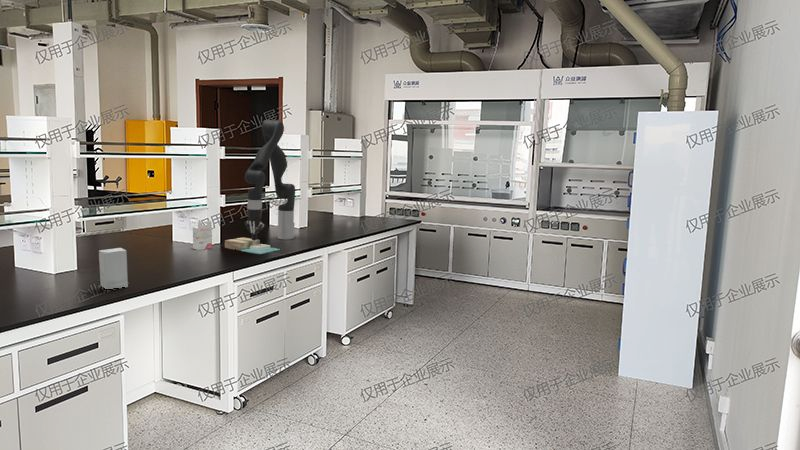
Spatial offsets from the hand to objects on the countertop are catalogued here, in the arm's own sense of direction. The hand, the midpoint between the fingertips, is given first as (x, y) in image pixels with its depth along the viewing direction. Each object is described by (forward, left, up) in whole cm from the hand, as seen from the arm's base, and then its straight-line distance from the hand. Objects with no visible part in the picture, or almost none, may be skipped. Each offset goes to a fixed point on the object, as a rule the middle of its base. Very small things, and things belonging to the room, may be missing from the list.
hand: (254, 240), depth 298 cm
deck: (0, -8, -5) cm, 10 cm away
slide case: (0, +4, -2) cm, 5 cm away
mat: (0, +5, -5) cm, 7 cm away
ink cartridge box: (+16, -21, -5) cm, 27 cm away
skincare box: (+92, +13, -5) cm, 93 cm away
